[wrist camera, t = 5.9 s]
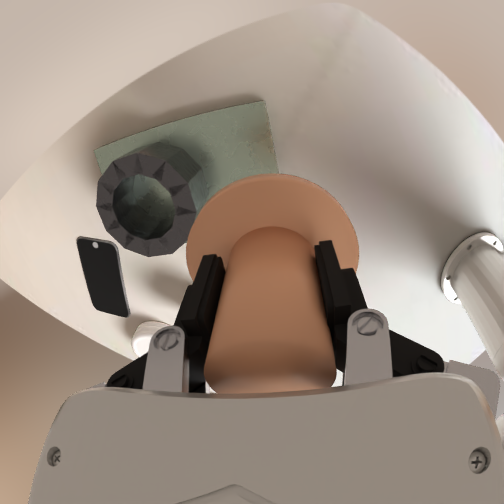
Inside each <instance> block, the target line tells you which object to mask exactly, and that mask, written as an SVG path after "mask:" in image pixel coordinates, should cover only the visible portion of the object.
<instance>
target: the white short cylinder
mask: <svg viewBox="0 0 504 504" xmlns="http://www.w3.org/2000/svg"><path fill="white" fill-rule="evenodd" d="M167 326H170V325H168V324H165V323H161V322H156V321H148V322H144V323H142V324H140V325H139V326H138V327H137V329H136V332H135V333H134V336H133V337H132V340H131V345H132V348H133V350H134V352H135V353H136V355H137V356H138V357H141V356H142V355H144V354H145V353H147V352H148V350H149V344H150V340H151V338H152V336H153V335H154V333H156V332H157V331H158V330H159V329H161V328H163V327H167Z"/></svg>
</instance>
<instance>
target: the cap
mask: <svg viewBox="0 0 504 504" xmlns="http://www.w3.org/2000/svg"><path fill="white" fill-rule="evenodd" d="M326 240H332V243H333V246H334V249H335V252H336V255H337V258H338V261H339V264H340V268H341V269H346V268H354V271H355V273H356V271H357V267H358V261H359V245H358V240H357V236H356V233H355V231H354V228H353V226H352V224H351V222H350V220H349V218H348V216H347V214H346V212H345V211H344V209H343V207H342V206H341V205H340V204H339V202H338V201H337V200H336V199H335V198H334V197H333V196H332V195H331V194H330V193H328V192H327V191H326V190H324V189H323V188H321V187H320V186H318V185H317V184H315V183H312V182H310V181H308V180H306V179H303V178H300V177H297V176H292V175H287V174H275V173H269V174H258V175H253V176H249V177H245V178H242V179H240V180H237V181H234V182H233V183H231V184H229V185H227V186H225V187H224V188H222V189H221V190H219V191H218V192H217V193H215V194H214V195H213V196H212V197H211V198H210V199H209V200H208V201H207V202H206V204H205V205H204V206H203V208H202V209H201V211H200V213H199V214H198V216H197V218H196V220H195V222H194V224H193V226H192V228H191V230H190V233H189V236H188V240H187V246H186V260H187V266H188V270H189V273H190V276H191V278H192V280H193V282H194V279H195V276H196V273H197V270H198V268H199V265H200V262H201V260H202V257H203V255H209V254H216V255H217V256H218V257H220V256H221V258H222V260H223V264H224V267H225V271H226V273H225V277H224V281H223V285H222V290H221V294H220V298H219V303H218V307H217V312H216V316H215V321H214V325H213V330H212V334H211V339H210V343H209V348H208V352H207V357H206V362H205V366H204V377H205V380H206V382H207V383H208V385H209V386H210V387H211V388H212V389H213V390H214V391H215V392H216V393H218V394H239V393H270V392H287V391H300V390H311V389H320V388H329V387H331V386H332V385H333V383H334V381H335V379H336V375H337V372H336V364H335V357H334V351H333V344H332V338H331V333H330V329H329V327H328V324H327V318H326V313H325V307H324V302H323V296H322V291H321V285H320V280H319V275H318V270H317V265H316V260H315V250H314V245H319V241H326Z"/></svg>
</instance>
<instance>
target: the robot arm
mask: <svg viewBox="0 0 504 504" xmlns="http://www.w3.org/2000/svg"><path fill="white" fill-rule="evenodd" d="M314 250H315V260H316V265H317V270H318V275H319V280H320V285H321V291H322V296H323V302H324V307H325V313H326V318H327V324H328V327H329V329H330V333H331V338H332V344H333V351H334V357H335V364H336V369H338V370H340V371H341V372H343V378H342V386H337V387H329V388H320V389H311V390H300V391H287V392H270V393H239V394H217V393H210V386H209V385H208V383H207V382H206V380H205V377H204V366H205V362H206V357H207V352H208V348H209V343H210V339H211V334H212V330H213V325H214V321H215V316H216V312H217V307H218V303H219V298H220V294H221V290H222V285H223V281H224V277H225V273H226V271H225V267H224V264H223V260H222V258H221V256H220V257H218V256H217V255H216V254H209V255H203V257H202V260H201V262H200V265H199V268H198V270H197V273H196V276H195V279H194V282H193V284H192V285H189V286H188V288H187V290H186V292H185V295H184V298H183V301H182V303H181V306H180V309H179V312H178V314H177V317H176V320H175V323H174V326H167V327H163V328H161V329H159V330H158V331H157V332H156V333H154V335H153V336H152V338H151V340H150V344H149V350H148V352H147V353H145V354H144V355H142V356H141V357H139V358H137V359H136V360H134V361H133V362H131V363H130V364H128V365H127V366H125V367H124V368H122V369H120V370H119V371H117V372H116V373H114V374H113V375H112V376H111V377H110V379H109V380H108V382H107V384H105V383H104V382H103V383H100V384H98V385H95V386H93V387H90V388H88V389H86V390H82V391H79V392H76V393H74V394H72V395H71V396H69V397H68V398H67V399H66V400H65V402H64V403H63V404H62V406H61V408H60V409H59V411H58V413H57V415H56V417H55V419H54V421H53V423H52V426H51V428H50V431H49V433H48V436H47V438H46V441H45V443H44V446H43V450H42V452H41V455H40V459H39V462H38V466H37V468H36V472H35V475H34V479H33V483H32V488H31V492H30V497H29V503H28V504H504V414H502V415H501V416H500V417H498V418H497V419H496V420H495V416H496V410H497V404H498V398H499V390H500V381H499V378H498V376H497V375H496V374H495V373H494V372H493V371H491V370H489V369H484V368H480V367H476V366H472V365H468V364H464V363H460V362H456V361H453V360H450V361H449V363H448V362H445V361H443V359H442V358H441V356H440V355H439V354H438V353H436V352H435V351H433V350H431V349H429V348H426V347H424V346H422V345H420V344H418V343H416V342H414V341H412V340H410V339H408V338H406V337H404V336H402V335H399V334H397V333H395V332H393V331H391V330H389V327H388V321H387V318H386V317H385V316H384V314H382V313H381V312H379V311H377V310H374V309H368V308H367V305H366V302H365V299H364V296H363V293H362V290H361V287H360V285H359V282H358V279H357V276H356V273H355V271H354V268H346V269H341V268H340V264H339V261H338V258H337V255H336V252H335V249H334V246H333V243H332V240H326V241H319V245H314ZM441 288H442V291H443V293H444V295H445V296H446V298H447V299H448V300H449V301H451V302H453V303H461V304H462V306H463V308H464V309H465V311H466V313H467V314H468V316H469V318H470V320H471V322H472V323H473V325H474V327H475V329H476V331H477V333H478V335H479V336H480V338H481V340H482V342H483V344H484V346H485V348H486V350H487V352H488V354H489V357H490V358H491V361H492V363H493V365H494V367H495V369H496V371H497V373H498V375H499V376H500V378H501V379H502V380H503V381H504V250H503V246H502V243H501V242H500V240H499V239H498V238H497V237H496V236H495V235H493V234H491V233H487V232H482V233H477V234H475V235H472V236H471V237H469V238H467V239H466V240H465V241H463V242H462V243H461V244H460V245H459V246H458V247H457V248H456V249H455V250H454V251H453V253H452V254H451V255H450V257H449V259H448V260H447V262H446V264H445V267H444V269H443V272H442V276H441Z"/></svg>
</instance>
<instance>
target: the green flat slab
mask: <svg viewBox="0 0 504 504" xmlns="http://www.w3.org/2000/svg"><path fill="white" fill-rule="evenodd" d="M94 153H95V156H96V159H97V162H98V165H99V168H100V171H101V174H102V176H101V178H100V179H99V181H98V188H97V203H96V207H97V210H98V212H99V215H100V217H101V219H102V222H103V224H104V227H105V229H106V231H107V232H108V233H109V234H110V235H111V236H112V237H113V238H114V239H115V240H117V241H118V242H119V243H120V244H121V245H122V246H123V247H124V248H125V249H128V250H130V251H133V252H136V253H139V254H142V255H144V256H147V257H152V256H159V255H166V254H173V253H174V252H175V251H176V250H177V249H178V248H179V247H181V246H182V245H183V244H184V243H187V240H188V236H189V233H190V230H191V228H192V226H193V224H194V222H195V220H196V218H197V216H198V214H199V213H200V211H201V209H202V208H203V206H204V205H205V204H206V202H207V201H208V200H209V199H210V198H211V197H212V196H213V195H214V194H215V193H217V192H218V191H219V190H221V189H222V188H224V187H225V186H227V185H229V184H231V183H233V182H234V181H237V180H240V179H242V178H245V177H249V176H253V175H258V174H269V173H275V174H279V172H278V166H277V161H276V155H275V150H274V145H273V140H272V134H271V129H270V124H269V119H268V114H267V109H266V105H265V100H264V101H258V102H253V103H248V104H242V105H238V106H233V107H228V108H224V109H219V110H215V111H211V112H207V113H203V114H199V115H195V116H191V117H188V118H184V119H180V120H177V121H174V122H170V123H167V124H164V125H160V126H157V127H154V128H151V129H148V130H145V131H142V132H139V133H136V134H134V135H131V136H128V137H125V138H123V139H120V140H117V141H115V142H112V143H110V144H107V145H105V146H102V147H100V148H98V149H95V150H94Z"/></svg>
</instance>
